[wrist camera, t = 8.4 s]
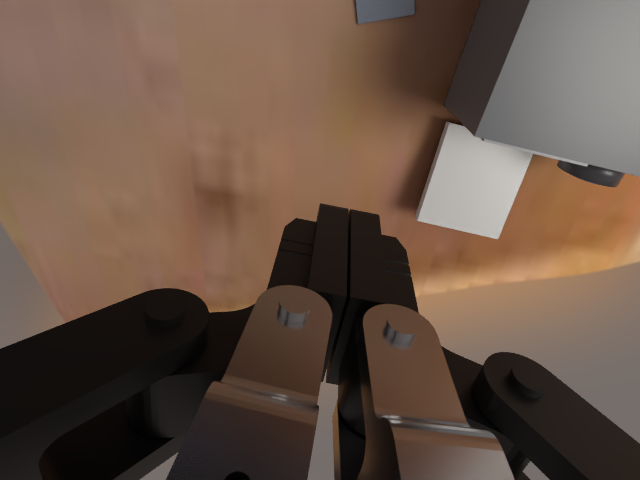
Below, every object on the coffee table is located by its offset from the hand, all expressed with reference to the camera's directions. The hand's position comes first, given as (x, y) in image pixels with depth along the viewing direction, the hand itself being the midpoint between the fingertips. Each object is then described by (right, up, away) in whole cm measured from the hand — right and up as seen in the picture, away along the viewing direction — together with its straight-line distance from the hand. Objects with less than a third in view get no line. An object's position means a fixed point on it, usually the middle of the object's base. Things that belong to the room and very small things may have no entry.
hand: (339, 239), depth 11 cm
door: (+13, +8, +22) cm, 27 cm away
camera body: (+16, +13, +20) cm, 29 cm away
